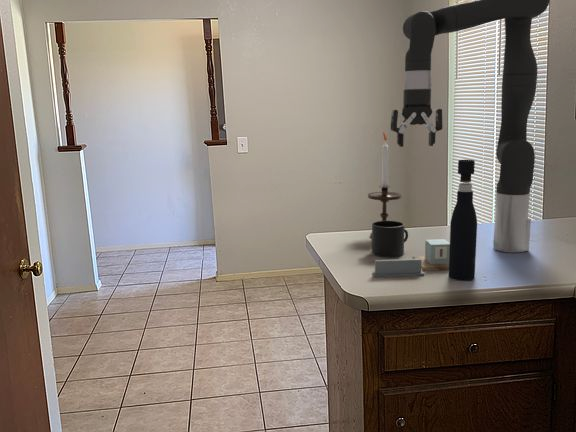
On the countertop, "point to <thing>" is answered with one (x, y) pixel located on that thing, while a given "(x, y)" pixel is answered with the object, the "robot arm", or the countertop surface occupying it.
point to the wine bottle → (463, 228)
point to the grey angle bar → (398, 268)
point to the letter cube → (437, 251)
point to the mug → (388, 238)
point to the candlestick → (384, 185)
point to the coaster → (427, 266)
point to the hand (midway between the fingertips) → (415, 146)
